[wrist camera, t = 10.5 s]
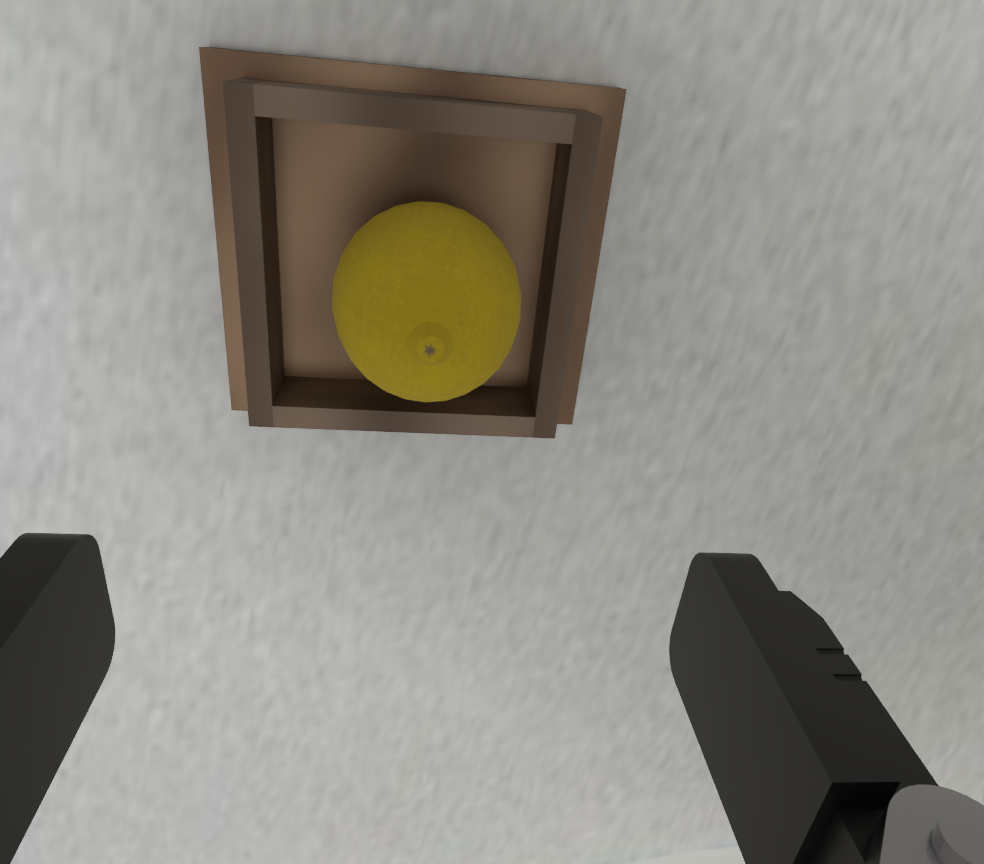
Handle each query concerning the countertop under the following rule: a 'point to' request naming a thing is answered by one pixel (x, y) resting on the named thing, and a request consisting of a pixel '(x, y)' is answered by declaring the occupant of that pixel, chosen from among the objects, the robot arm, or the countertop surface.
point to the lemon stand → (380, 186)
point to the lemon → (426, 301)
